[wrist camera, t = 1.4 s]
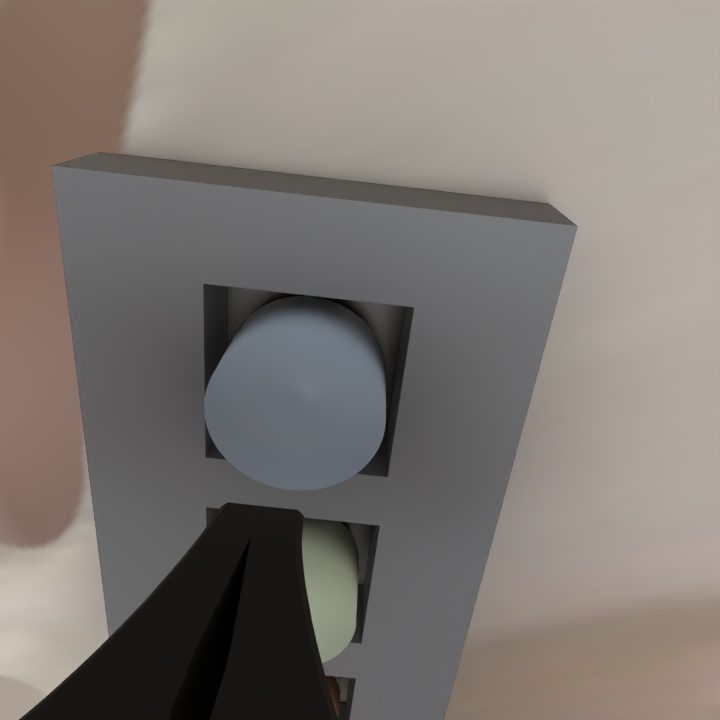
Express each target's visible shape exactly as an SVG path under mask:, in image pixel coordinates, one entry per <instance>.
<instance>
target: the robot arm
mask: <svg viewBox="0 0 720 720" xmlns="http://www.w3.org/2000/svg"><path fill="white" fill-rule="evenodd" d="M303 521H304V516H303V514H302V513H301V512H300V511H299V510H295V509H286V508H276V507H267V506H258V505H248V504H239V503H230V502H227V503H226V504H224V505H223V506H221V507H220V509H219V510H218V512H217V513H216V515H215V516H214V517H213V519H212V520H211V522H210V523H209V524H208V526H207V527H206V528H205V530H204V531H203V532H202V534H201V535H200V536H199V537H198V539H197V540H196V541H195V543H194V544H193V545H192V546H191V548H190V549H189V550H188V551H187V552H186V554H185V555H184V556H183V557H182V559H181V560H180V561H179V562H178V563H177V565H176V566H175V567H174V568H173V569H172V570H171V571H170V573H169V574H168V575H167V576H166V577H165V578H164V579H163V581H162V582H161V583H160V584H159V585H158V586H157V588H156V589H155V590H154V591H153V592H152V593H151V594H150V595H149V597H148V598H147V599H146V600H145V601H144V602H143V603H142V604H141V605H140V606H139V607H138V608H137V609H136V610H135V611H134V612H133V614H132V615H131V616H130V617H129V618H128V619H127V620H126V621H125V622H124V623H123V624H122V625H121V626H120V627H119V628H118V629H117V630H116V631H115V632H114V633H113V634H112V635H111V636H110V637H109V638H108V639H107V640H106V641H105V642H104V643H103V644H102V645H101V646H100V647H99V648H98V649H97V650H96V651H95V652H94V653H93V654H92V655H91V656H90V657H89V658H88V659H87V660H86V661H85V662H84V663H83V664H82V665H81V666H80V667H78V668H77V669H76V670H75V671H74V672H73V673H72V674H71V675H70V676H69V677H68V678H66V679H65V680H64V681H63V682H62V683H61V684H60V685H59V686H58V687H56V688H55V689H54V690H53V691H52V692H51V693H50V694H49V695H48V696H46V697H45V698H44V699H43V700H42V701H41V702H40V703H38V705H36V706H35V707H34V708H33V709H31V710H30V711H29V712H28V713H27V714H25V715H24V716H23V717H22V718H21V719H19V720H339V719H338V716H337V713H336V710H335V707H334V704H333V701H332V697H331V694H330V690H329V687H328V683H327V680H326V676H325V673H324V669H323V665H322V661H321V657H320V653H319V649H318V645H317V641H316V636H315V632H314V627H313V623H312V618H311V612H310V607H309V601H308V595H307V590H306V583H305V576H304V567H303V556H302V534H303Z"/></svg>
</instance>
